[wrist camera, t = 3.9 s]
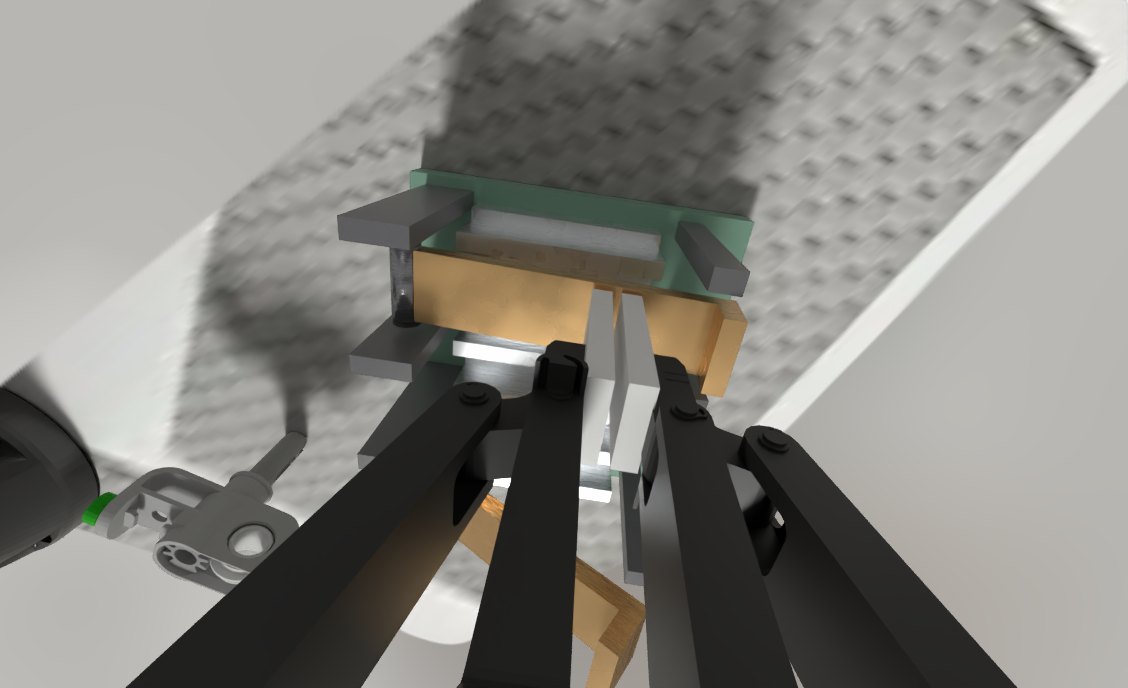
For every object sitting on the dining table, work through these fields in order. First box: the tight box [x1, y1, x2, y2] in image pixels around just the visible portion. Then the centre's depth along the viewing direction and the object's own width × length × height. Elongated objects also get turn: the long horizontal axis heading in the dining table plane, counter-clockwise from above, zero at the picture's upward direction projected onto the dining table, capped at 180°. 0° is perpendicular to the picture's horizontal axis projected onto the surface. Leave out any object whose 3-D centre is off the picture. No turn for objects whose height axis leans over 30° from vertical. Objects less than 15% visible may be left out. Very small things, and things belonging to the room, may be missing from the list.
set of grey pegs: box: [337, 184, 750, 586], centre depth 22 cm, size 14×16×8 cm
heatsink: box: [452, 202, 665, 502], centre depth 24 cm, size 9×15×4 cm, turn 173°
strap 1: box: [389, 243, 748, 398], centre depth 18 cm, size 14×4×2 cm, turn 83°
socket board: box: [410, 168, 754, 477], centre depth 27 cm, size 17×17×2 cm
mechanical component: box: [82, 432, 306, 595], centre depth 28 cm, size 3×10×10 cm, turn 61°
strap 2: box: [458, 494, 646, 688], centre depth 20 cm, size 14×4×2 cm
